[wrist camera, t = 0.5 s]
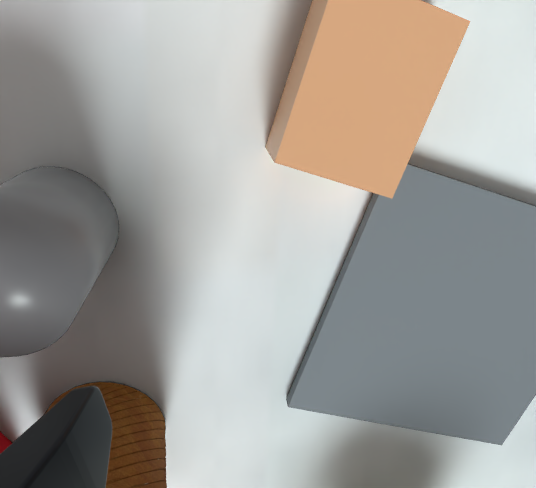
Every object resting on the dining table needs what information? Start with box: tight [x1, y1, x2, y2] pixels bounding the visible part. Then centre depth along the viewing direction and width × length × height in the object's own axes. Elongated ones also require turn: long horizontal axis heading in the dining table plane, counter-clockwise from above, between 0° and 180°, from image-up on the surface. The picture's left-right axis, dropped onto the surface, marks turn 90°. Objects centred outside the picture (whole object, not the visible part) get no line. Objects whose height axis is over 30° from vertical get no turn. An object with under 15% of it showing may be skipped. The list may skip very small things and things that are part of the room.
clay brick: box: [266, 0, 470, 199], centre depth 16 cm, size 5×6×3 cm
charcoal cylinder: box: [0, 167, 119, 357], centre depth 16 cm, size 5×5×6 cm
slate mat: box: [286, 164, 536, 445], centre depth 23 cm, size 14×14×1 cm
